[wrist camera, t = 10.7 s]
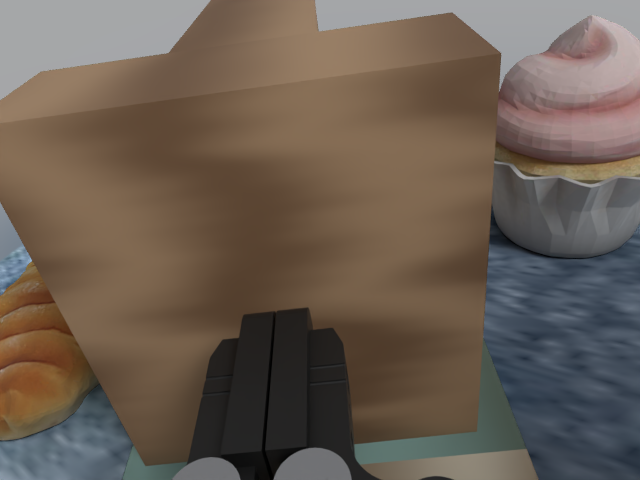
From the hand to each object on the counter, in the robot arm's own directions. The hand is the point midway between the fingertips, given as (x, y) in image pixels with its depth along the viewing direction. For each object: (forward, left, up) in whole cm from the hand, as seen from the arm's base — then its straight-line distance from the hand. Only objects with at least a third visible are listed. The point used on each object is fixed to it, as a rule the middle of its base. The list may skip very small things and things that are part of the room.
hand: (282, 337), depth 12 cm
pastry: (+11, -8, -7) cm, 16 cm away
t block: (0, -9, -7) cm, 11 cm away
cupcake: (-12, -13, -7) cm, 19 cm away
